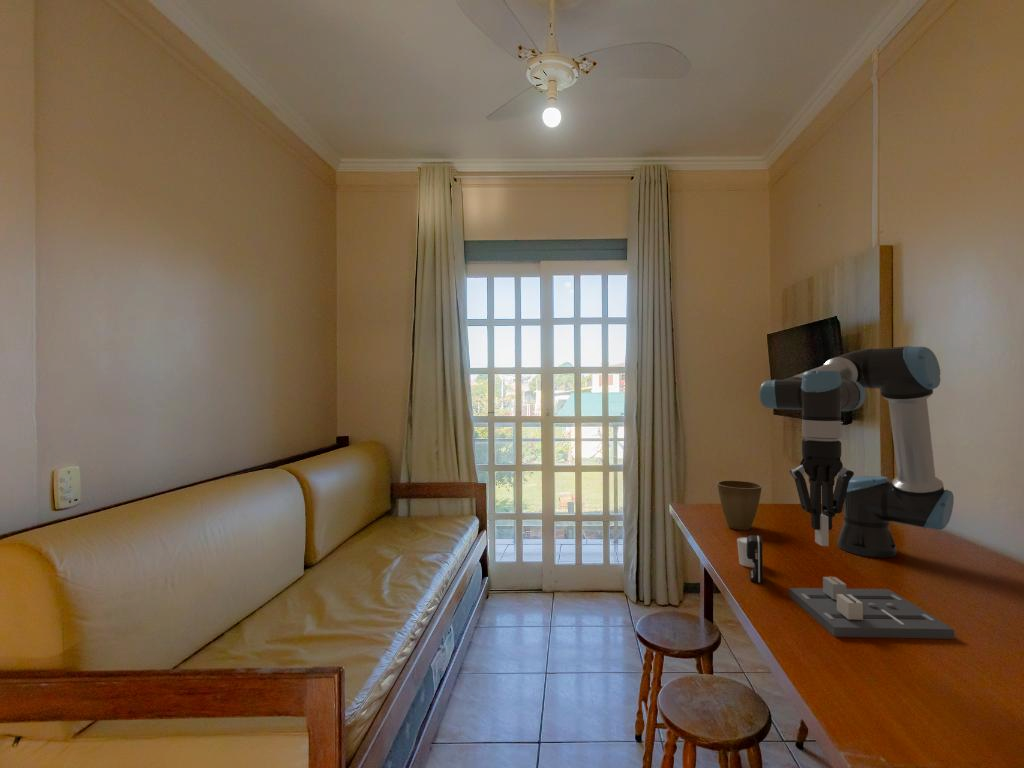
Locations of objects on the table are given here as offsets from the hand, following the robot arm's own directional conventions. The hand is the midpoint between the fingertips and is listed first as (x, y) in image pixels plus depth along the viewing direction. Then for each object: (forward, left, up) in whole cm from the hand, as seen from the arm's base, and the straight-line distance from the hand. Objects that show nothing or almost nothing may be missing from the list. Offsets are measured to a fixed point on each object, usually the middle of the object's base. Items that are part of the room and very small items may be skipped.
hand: (821, 543), depth 112 cm
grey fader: (-7, -9, -15) cm, 19 cm away
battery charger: (+5, -25, -18) cm, 31 cm away
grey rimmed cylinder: (+2, -36, -18) cm, 40 cm away
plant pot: (-9, -73, -18) cm, 75 cm away
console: (-11, -4, -18) cm, 21 cm away
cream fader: (-5, +1, -15) cm, 16 cm away
